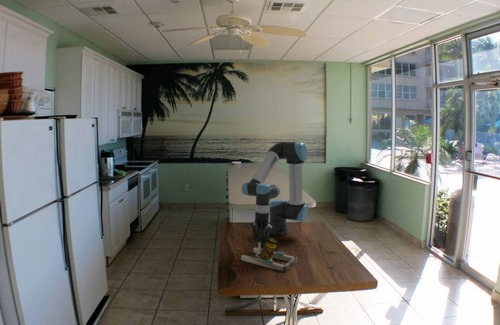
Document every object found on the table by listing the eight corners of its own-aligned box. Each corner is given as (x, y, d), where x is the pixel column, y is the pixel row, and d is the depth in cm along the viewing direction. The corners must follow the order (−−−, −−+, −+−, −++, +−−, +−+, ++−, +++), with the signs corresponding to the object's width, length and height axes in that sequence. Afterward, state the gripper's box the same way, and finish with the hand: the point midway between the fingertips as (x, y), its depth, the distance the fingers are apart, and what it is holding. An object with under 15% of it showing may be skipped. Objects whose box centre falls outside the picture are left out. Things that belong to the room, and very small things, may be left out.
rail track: (254, 251, 189) (255, 246, 189) (297, 261, 176) (297, 256, 175) (241, 260, 176) (241, 254, 176) (285, 272, 163) (285, 265, 162)
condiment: (267, 263, 172) (275, 245, 169) (254, 255, 176) (262, 237, 172) (272, 259, 179) (280, 241, 176) (260, 250, 182) (267, 233, 179)
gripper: (248, 211, 176) (246, 252, 178) (269, 215, 169) (266, 258, 171) (255, 208, 182) (253, 248, 184) (275, 212, 175) (273, 253, 178)
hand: (260, 253), depth 178 cm, fingers closed
